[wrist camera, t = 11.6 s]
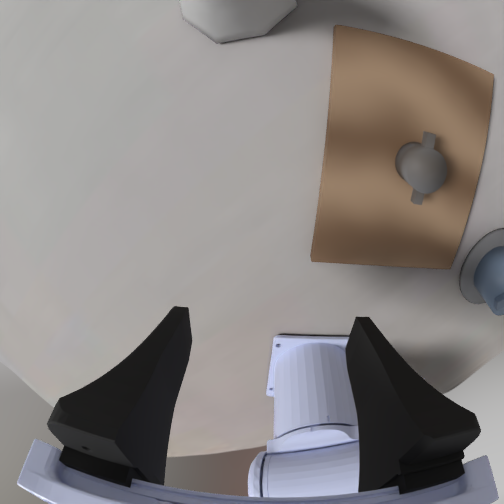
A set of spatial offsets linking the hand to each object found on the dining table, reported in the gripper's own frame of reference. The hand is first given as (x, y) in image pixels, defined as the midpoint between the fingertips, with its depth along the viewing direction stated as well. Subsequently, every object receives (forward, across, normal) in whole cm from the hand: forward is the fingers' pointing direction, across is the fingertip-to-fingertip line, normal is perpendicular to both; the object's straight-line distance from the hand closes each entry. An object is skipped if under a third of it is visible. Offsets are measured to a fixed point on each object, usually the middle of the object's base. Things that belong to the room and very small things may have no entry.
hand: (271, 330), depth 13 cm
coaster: (+10, -21, +2) cm, 23 cm away
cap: (+10, -21, +2) cm, 23 cm away
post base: (+10, -9, -6) cm, 15 cm away
